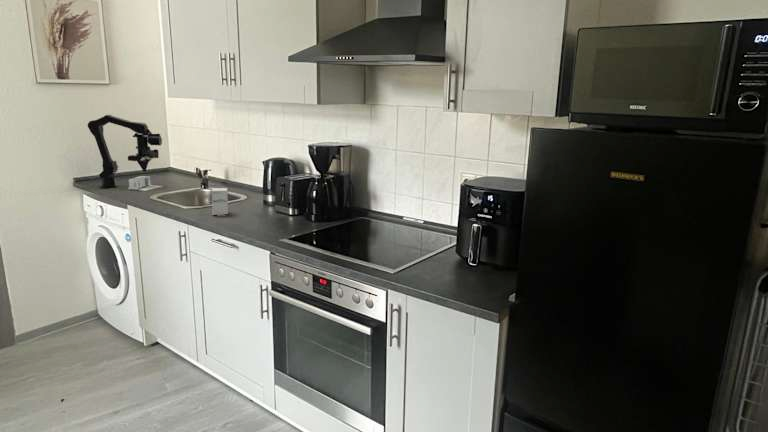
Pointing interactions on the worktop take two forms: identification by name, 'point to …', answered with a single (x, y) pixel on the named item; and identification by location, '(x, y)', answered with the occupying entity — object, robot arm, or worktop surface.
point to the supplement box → (219, 201)
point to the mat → (148, 187)
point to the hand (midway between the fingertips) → (144, 171)
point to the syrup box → (139, 182)
